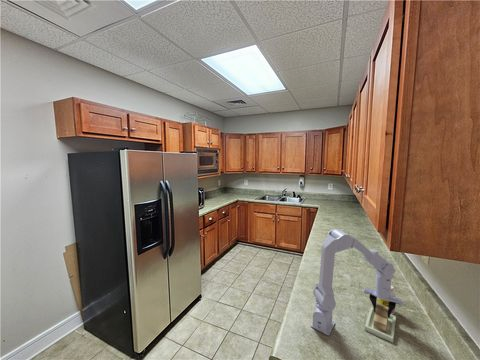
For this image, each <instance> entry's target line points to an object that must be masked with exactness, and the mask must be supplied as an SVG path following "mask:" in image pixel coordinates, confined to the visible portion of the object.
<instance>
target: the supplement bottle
mask: <svg viewBox="0 0 480 360" xmlns="http://www.w3.org/2000/svg"><path fill="white" fill-rule="evenodd" d="M391 295H392V296H394V297H396V296H397V295H396V293H395V291H394V286H393V285H392V284H391ZM396 298H397V297H396ZM378 304H381V305H384V306H386V307H389V301H386V300H382V299H379V298H378ZM395 311H396V307H395V308H394V309H393V311H392V312H391V315H394V314H395V313H396V312H395Z"/></svg>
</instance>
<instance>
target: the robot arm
mask: <svg viewBox="0 0 480 360" xmlns="http://www.w3.org/2000/svg"><path fill="white" fill-rule="evenodd" d="M350 248H351V249H355V250H357V251H358V252H360V253H361V254H363V259H364V260H365V261H366V262H367V263H369V264H370V265H371V266H372V267H373V268H374V269H376V271H375V289H373V288H368V287H364V289H363V291H364V292H363V293H364V294H365V295H367V294H368V295H369V297H368V298H369V300H370V302H371V304H372V307H373V308H374V312H375V311H376V305H377V299H378V300H379V299H382V300H386V301H389V308H388V317H389V318H390V314H391V312H392V311H393V309H394V308H395V309H396V307H397V305H398V306H399V307H403V305H404V304H403V303H404V300H403V299H400V298H398V297H394V296H392V295H391V285H392V279H393V275H394V274H395V273H396V269H395V267H394V265H393V263H391V262H389V261H388V260H387V258H386V257H384V256H383V255H380V254H379V251H378V250H377V249H371V248H369V249H368V247H366V246H365V245H364V244H363V243H361V241H359V240H358V239H357V238H356V237H354V236H352V235H350V234H349V233H346V232H344V231H343V230H341V229H340V228H332V229H331V230H329V231H328V232H327V235H326V239H325V240H324V242H323V243H322V245H321V257H320V266H319V267H320V268H319V269H320V270H319V279H318V281H319V282H316V283H315V286H314V289H313V297H315V303H314V304H315V306H314V307H315V309H314V312H313V313H312V322H311V324H310V327H311V328H313V329H315V330H317V331H319V332H321V333H322V334H324V335H327V336H330V334H331V332H332V330H333V328H334V326H335V324H336V321H335V320H333V310H334V309H335V307H336V306H337V302H336V300H335V292H334V289H333V282H334V281H333V279H334V268H335V267H334V266H335V259H336V257H335V256H336V255H335V254H337V253H338V252H343V251H346V250H348V249H350ZM391 315H392V314H391Z"/></svg>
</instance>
